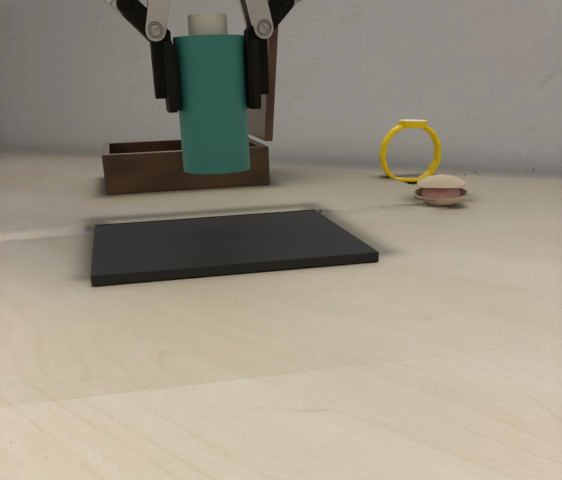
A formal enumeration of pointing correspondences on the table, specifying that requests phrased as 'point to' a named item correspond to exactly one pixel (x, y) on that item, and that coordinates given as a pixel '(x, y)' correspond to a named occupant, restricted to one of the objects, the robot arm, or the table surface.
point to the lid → (266, 98)
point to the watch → (402, 124)
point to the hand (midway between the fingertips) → (212, 106)
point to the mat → (221, 246)
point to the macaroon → (441, 189)
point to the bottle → (212, 97)
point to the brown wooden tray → (171, 168)
